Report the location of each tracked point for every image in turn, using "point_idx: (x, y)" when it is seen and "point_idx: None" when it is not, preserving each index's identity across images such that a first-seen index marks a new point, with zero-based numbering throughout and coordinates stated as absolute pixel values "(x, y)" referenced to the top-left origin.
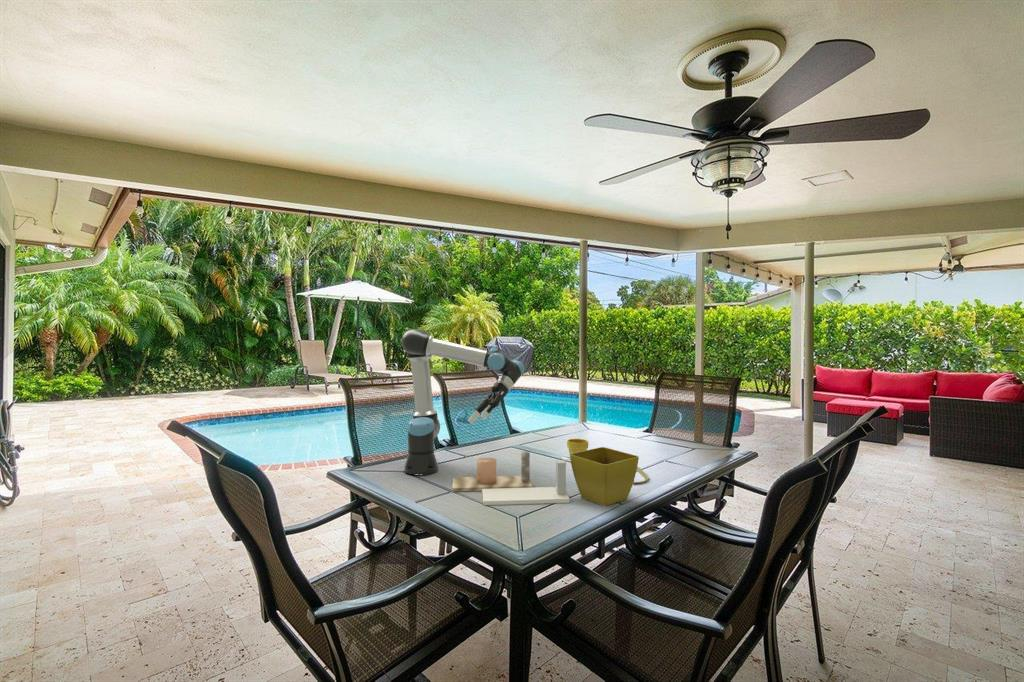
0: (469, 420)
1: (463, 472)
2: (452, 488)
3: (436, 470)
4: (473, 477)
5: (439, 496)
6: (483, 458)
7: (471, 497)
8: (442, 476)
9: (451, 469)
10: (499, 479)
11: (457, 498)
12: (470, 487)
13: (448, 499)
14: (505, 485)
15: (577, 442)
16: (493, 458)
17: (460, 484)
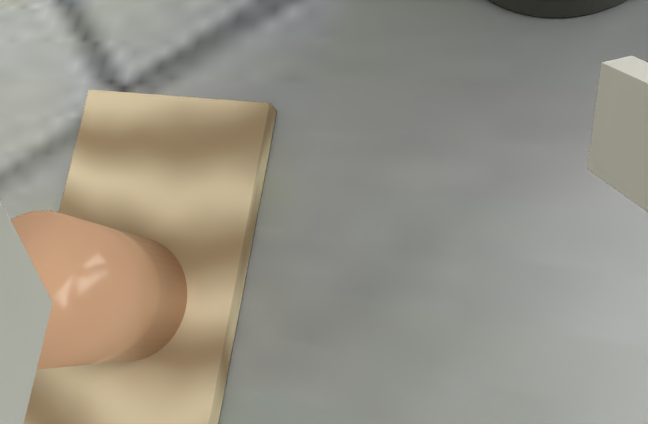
0: (613, 89)
1: (463, 191)
2: (89, 93)
3: (508, 4)
4: (235, 228)
5: (69, 39)
6: (82, 270)
7: (7, 188)
8: (399, 50)
9: (563, 111)
10: (149, 390)
11: (17, 121)
12: (66, 187)
13: (19, 79)
14: (33, 396)
15: None
16: (56, 353)
17: (130, 137)
